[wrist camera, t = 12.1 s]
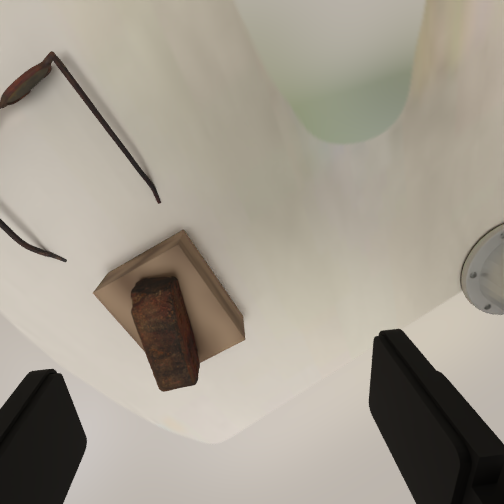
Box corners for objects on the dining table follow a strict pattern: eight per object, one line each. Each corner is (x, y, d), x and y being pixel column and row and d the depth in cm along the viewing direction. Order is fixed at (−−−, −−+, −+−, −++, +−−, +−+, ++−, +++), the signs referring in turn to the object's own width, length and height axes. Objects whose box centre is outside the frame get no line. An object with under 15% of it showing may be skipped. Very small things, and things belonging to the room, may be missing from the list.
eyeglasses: (67, 57, 29) (37, 45, 24) (169, 197, 34) (161, 209, 30) (-53, 147, 31) (-101, 152, 26) (62, 266, 36) (38, 288, 32)
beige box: (184, 228, 36) (178, 244, 31) (242, 314, 40) (245, 339, 36) (109, 271, 37) (92, 293, 32) (175, 350, 42) (168, 378, 37)
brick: (201, 354, 36) (198, 386, 32) (166, 361, 36) (158, 394, 32) (176, 269, 32) (169, 292, 28) (137, 277, 32) (123, 301, 28)
